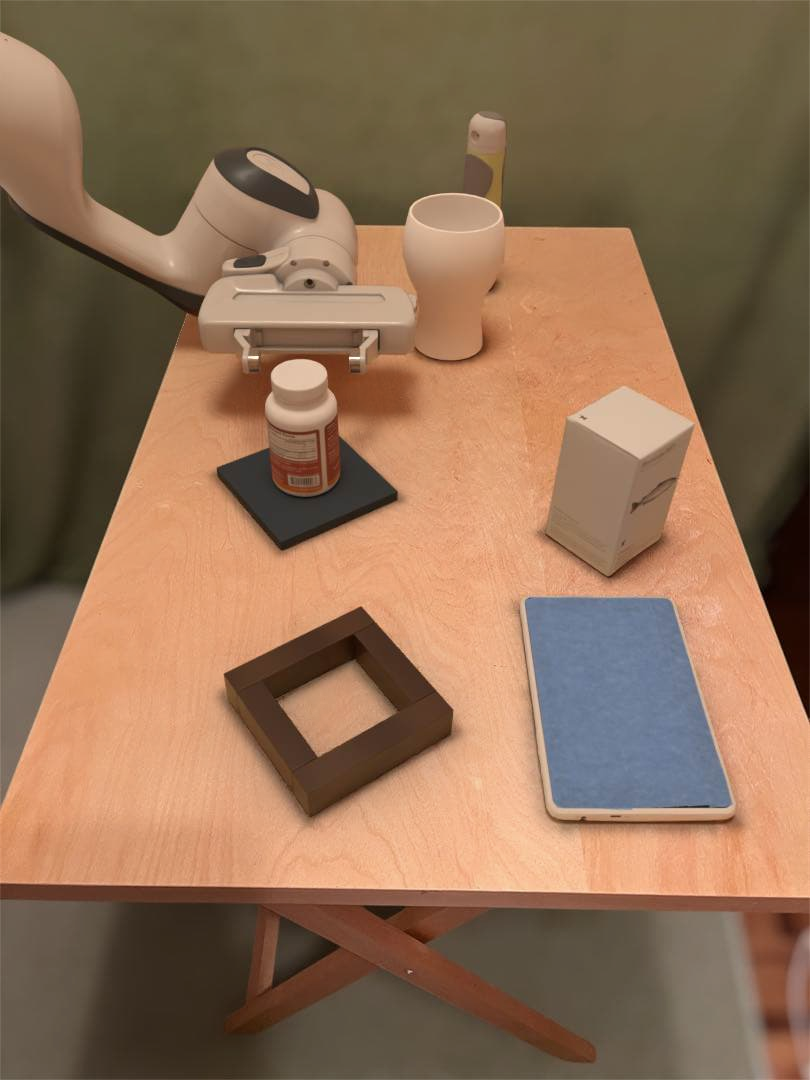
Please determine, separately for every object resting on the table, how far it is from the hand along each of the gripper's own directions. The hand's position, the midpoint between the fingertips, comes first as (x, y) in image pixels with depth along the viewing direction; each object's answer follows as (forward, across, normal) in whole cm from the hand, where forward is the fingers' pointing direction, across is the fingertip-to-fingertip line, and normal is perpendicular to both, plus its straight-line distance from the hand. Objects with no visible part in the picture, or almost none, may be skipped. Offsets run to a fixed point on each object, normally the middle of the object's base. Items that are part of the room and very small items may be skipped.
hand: (304, 367), depth 81 cm
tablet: (+30, -24, -9) cm, 39 cm away
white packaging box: (+12, -26, -10) cm, 30 cm away
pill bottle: (+5, 0, -8) cm, 10 cm away
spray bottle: (-33, -18, -10) cm, 39 cm away
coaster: (+6, 0, -9) cm, 11 cm away
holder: (+31, -4, -9) cm, 32 cm away
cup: (-20, -14, -10) cm, 26 cm away
